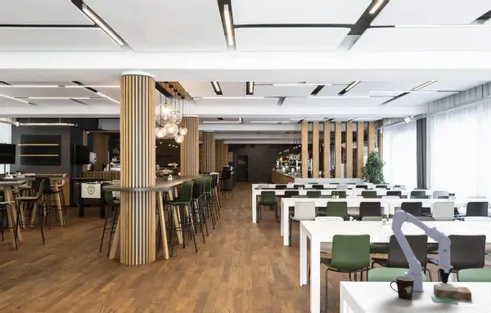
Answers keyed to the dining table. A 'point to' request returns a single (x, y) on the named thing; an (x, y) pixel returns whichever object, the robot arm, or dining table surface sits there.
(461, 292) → the brown flat block
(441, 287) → the upright cream block
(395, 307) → the dining table surface
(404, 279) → the coffee mug
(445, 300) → the mat
